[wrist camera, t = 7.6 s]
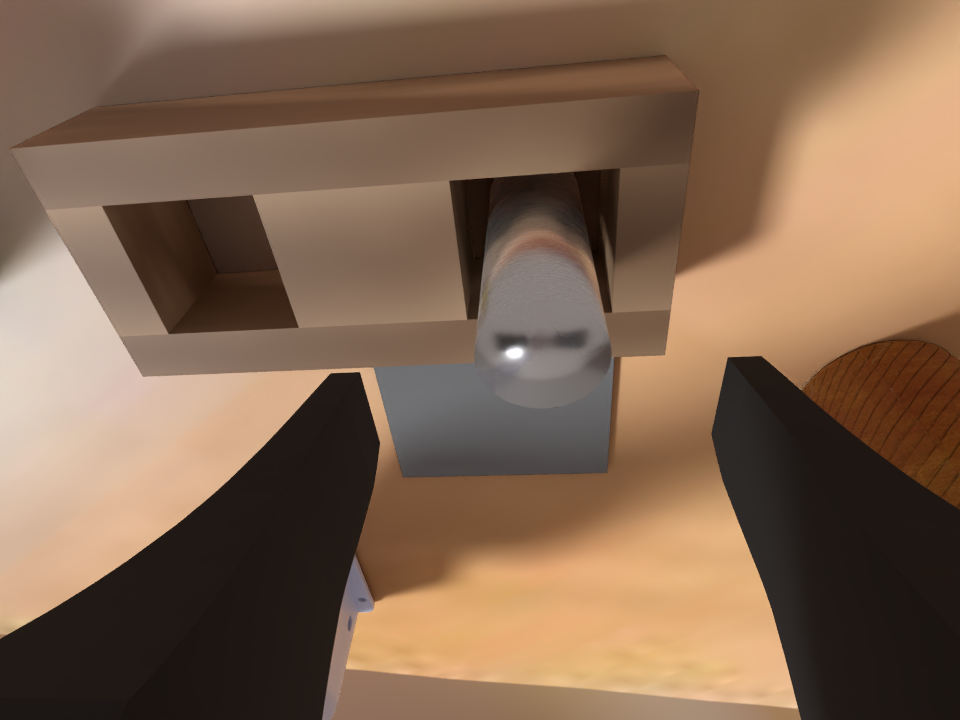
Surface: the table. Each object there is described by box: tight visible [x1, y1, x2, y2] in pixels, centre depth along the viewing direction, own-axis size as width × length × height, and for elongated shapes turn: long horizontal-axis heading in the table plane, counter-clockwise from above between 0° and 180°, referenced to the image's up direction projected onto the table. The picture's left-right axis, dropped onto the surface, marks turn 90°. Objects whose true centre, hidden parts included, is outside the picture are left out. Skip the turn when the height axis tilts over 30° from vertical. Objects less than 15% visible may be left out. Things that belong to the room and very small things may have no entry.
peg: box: [474, 172, 612, 409], centre depth 16 cm, size 3×3×9 cm
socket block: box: [9, 55, 699, 377], centre depth 19 cm, size 8×18×4 cm, turn 95°
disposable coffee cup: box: [802, 340, 960, 509], centre depth 20 cm, size 10×10×12 cm
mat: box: [374, 357, 614, 477], centre depth 26 cm, size 9×10×1 cm
